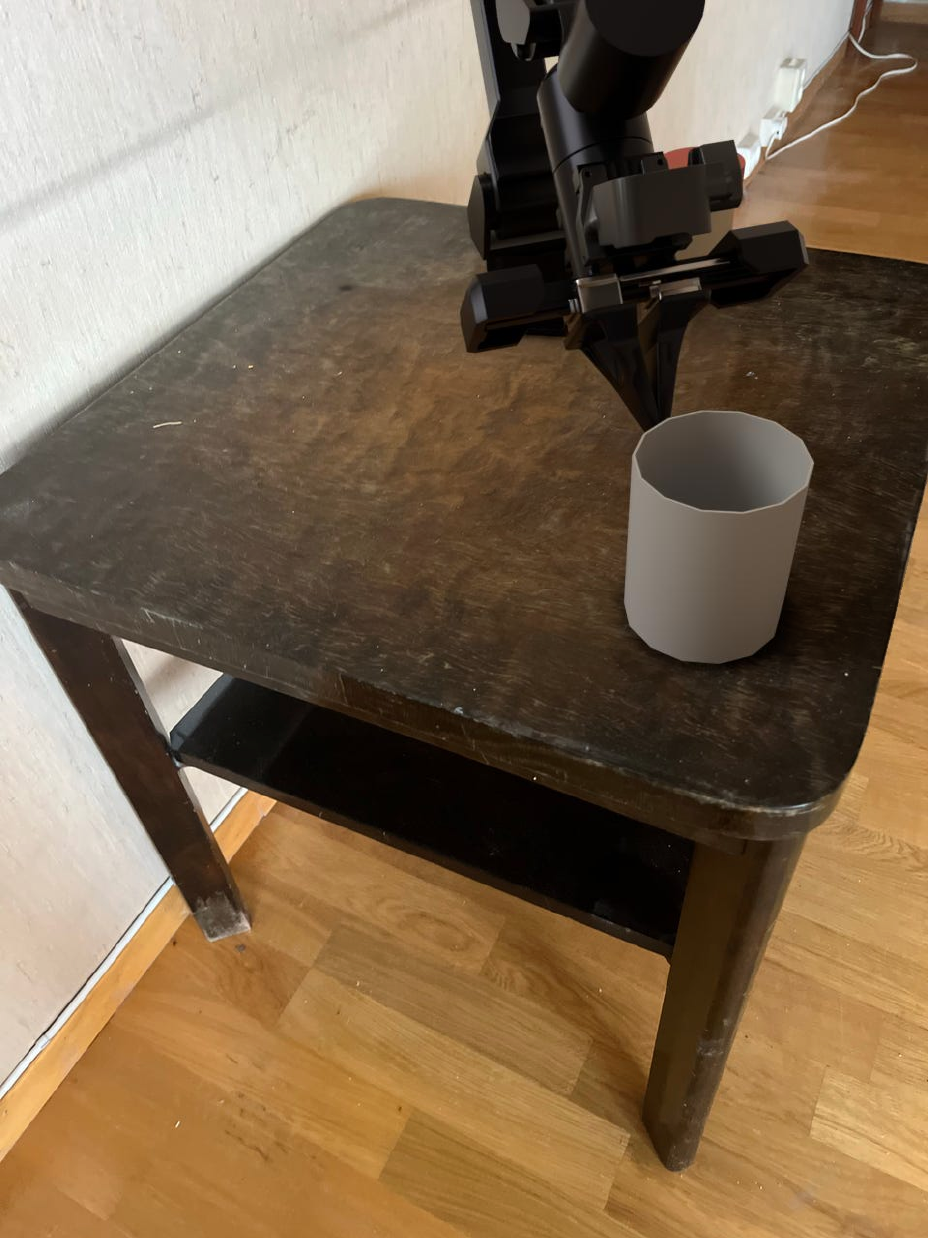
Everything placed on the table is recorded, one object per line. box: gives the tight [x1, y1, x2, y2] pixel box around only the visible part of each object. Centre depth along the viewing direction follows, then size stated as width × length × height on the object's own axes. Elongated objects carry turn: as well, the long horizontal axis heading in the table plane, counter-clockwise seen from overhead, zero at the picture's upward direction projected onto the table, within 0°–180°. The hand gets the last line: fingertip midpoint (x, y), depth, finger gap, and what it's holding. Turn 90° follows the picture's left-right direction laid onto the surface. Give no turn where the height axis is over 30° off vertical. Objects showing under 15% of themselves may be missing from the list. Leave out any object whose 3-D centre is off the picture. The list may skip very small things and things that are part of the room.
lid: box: [664, 145, 747, 182], centre depth 73 cm, size 7×7×2 cm
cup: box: [623, 410, 815, 665], centre depth 49 cm, size 8×8×10 cm
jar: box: [652, 208, 736, 284], centre depth 76 cm, size 6×6×9 cm
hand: (659, 438), depth 53 cm, fingers closed
